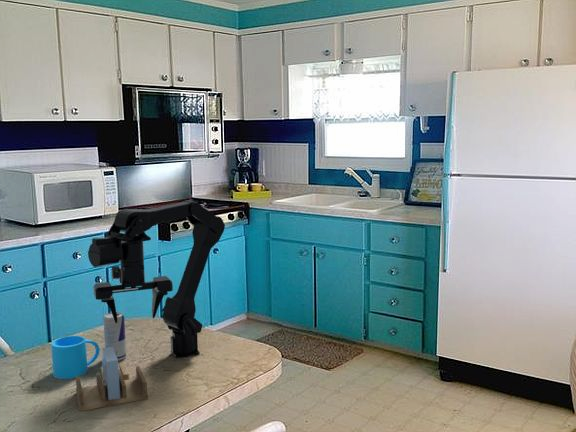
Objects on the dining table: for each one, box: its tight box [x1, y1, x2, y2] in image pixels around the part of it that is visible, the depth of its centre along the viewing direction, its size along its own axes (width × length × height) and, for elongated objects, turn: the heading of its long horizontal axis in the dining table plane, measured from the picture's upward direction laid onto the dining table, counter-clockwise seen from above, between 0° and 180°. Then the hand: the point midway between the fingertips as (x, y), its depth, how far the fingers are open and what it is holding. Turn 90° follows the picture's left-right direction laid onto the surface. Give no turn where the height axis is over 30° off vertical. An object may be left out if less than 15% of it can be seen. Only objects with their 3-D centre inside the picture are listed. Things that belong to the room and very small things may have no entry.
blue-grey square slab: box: [101, 347, 120, 400], centre depth 137 cm, size 2×9×9 cm, turn 24°
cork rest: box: [100, 361, 130, 383], centre depth 147 cm, size 6×8×2 cm
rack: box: [75, 365, 149, 412], centre depth 137 cm, size 15×10×4 cm
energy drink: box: [102, 311, 127, 362], centre depth 159 cm, size 5×5×12 cm
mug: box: [50, 335, 101, 380], centre depth 151 cm, size 12×8×8 cm
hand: (134, 320), depth 150 cm, fingers open, 9 cm apart
